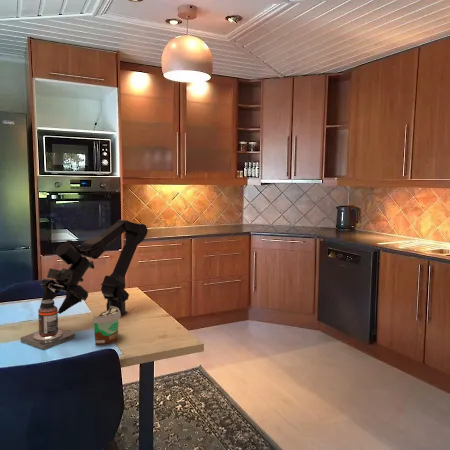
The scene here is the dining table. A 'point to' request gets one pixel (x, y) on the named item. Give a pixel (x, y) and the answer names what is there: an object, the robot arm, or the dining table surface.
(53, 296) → the robot arm
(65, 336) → the plate
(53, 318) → the supplement bottle
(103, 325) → the food container
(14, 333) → the dining table surface
